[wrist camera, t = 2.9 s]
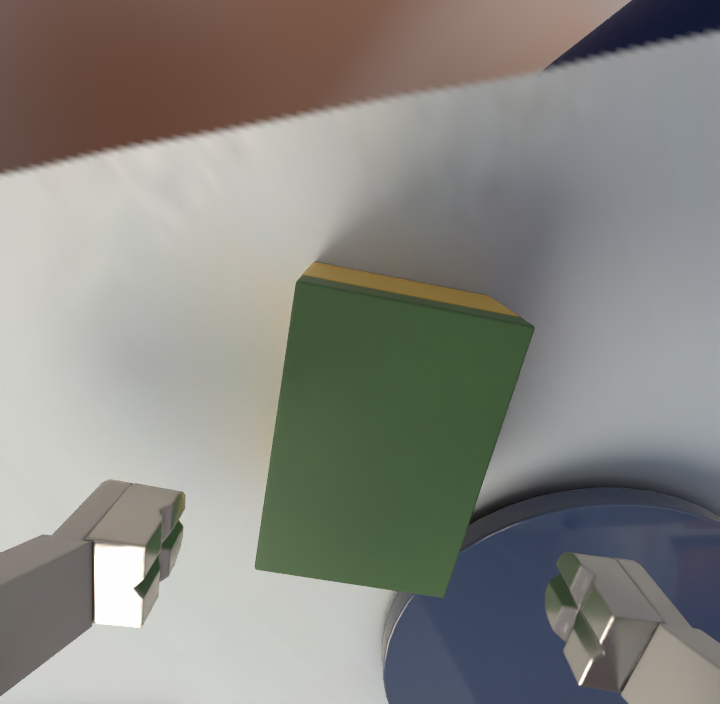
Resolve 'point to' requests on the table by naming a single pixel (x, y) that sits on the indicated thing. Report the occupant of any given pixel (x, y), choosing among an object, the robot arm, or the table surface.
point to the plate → (542, 596)
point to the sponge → (384, 428)
